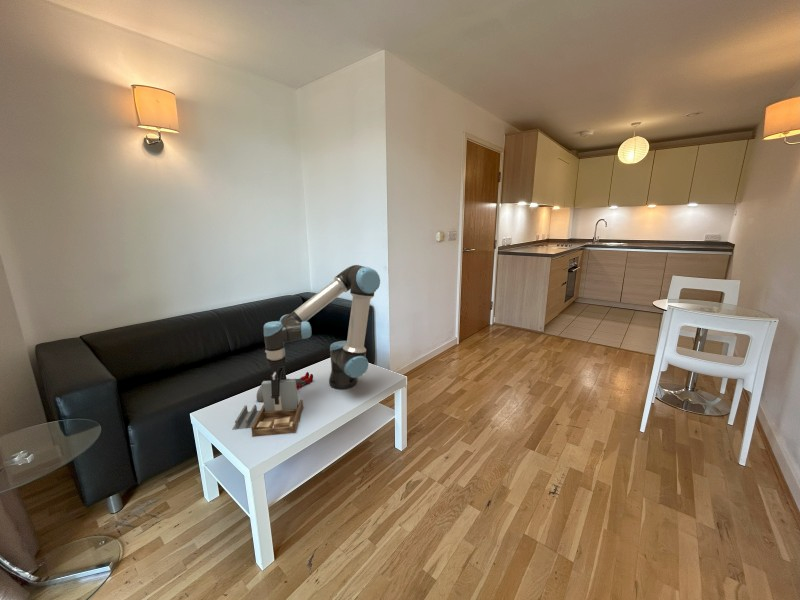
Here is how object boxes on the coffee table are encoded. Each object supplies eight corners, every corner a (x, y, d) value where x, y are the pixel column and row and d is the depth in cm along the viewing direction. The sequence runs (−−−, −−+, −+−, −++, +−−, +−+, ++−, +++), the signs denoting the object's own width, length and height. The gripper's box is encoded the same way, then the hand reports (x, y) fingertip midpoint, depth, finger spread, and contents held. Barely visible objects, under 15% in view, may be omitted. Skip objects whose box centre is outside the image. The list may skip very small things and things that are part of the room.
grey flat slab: (298, 410, 149) (295, 378, 145) (297, 413, 147) (294, 381, 143) (267, 413, 148) (263, 381, 144) (265, 416, 145) (261, 383, 141)
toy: (319, 376, 175) (265, 388, 151) (317, 393, 175) (264, 408, 152) (302, 368, 185) (249, 379, 161) (300, 384, 185) (248, 397, 162)
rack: (303, 409, 152) (302, 399, 151) (295, 434, 134) (294, 424, 133) (265, 412, 150) (264, 402, 149) (252, 438, 132) (251, 427, 131)
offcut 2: (290, 421, 138) (289, 417, 137) (289, 426, 135) (289, 422, 134) (275, 423, 137) (274, 419, 136) (274, 428, 133) (273, 424, 133)
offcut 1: (272, 427, 137) (271, 421, 136) (269, 433, 134) (268, 426, 133) (260, 427, 137) (260, 421, 136) (257, 433, 134) (256, 426, 133)
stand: (242, 414, 149) (241, 405, 148) (261, 412, 150) (259, 403, 149) (232, 431, 136) (230, 422, 135) (252, 429, 137) (250, 420, 136)
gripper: (273, 347, 151) (278, 391, 156) (259, 369, 129) (265, 418, 135) (290, 346, 152) (294, 389, 157) (278, 367, 130) (284, 417, 135)
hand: (281, 403), depth 146 cm, fingers open, 10 cm apart
